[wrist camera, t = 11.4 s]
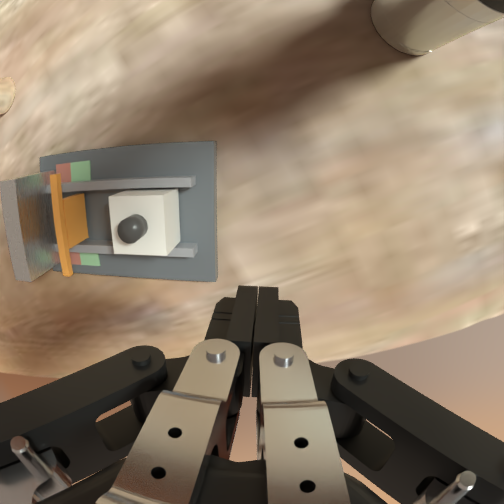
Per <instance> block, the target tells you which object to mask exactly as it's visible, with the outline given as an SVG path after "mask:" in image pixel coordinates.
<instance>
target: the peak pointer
mask: <svg viewBox="0 0 504 504" xmlns="http://www.w3.org/2000/svg"><path fill="white" fill-rule="evenodd" d="M50 186H51V197H52V207H53V216H54V224H55V231H56V238H57V244H58V250H59V256H60V262H61V267H62V272H63V276H69V277H70V276H71V275H72V274H73V270H72V265H71V259H70V253H69V249H70V248H72V247H74V246H75V245H77V244H79V243H80V242H82V241H84V240H85V239H87V238H89V236H88V228H87V219H86V209H85V198H84V193H78V194H75V195H72V196H69V197H66V198H63V199H62V187H61V173H59V174H52V175H50Z"/></svg>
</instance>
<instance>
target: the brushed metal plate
mask: <svg viewBox="0 0 504 504" xmlns="http://www.w3.org/2000/svg"><path fill="white" fill-rule="evenodd" d="M52 174H56V170H52V171H44V172H38V173H34V174H29V175H25V176H21V177H16V178H12V179H8V180H4V181H0V191H1V200H2V209H3V216H4V223H5V230H6V236H7V241H8V247H9V252H10V257H11V261H12V266H13V270H14V274H15V279H16V280H19V281H27V282H32V281H34V280H35V279H37V278H38V277H39V276H41V275H42V274H44V273H45V272H47V271H48V270H50V269H51V268H53V267H54V266H56V265H57V264H59V263H60V256H59V252H57V251H56V248H55V244H56V243H57V238H56V231H55V224H54V216H53V207H52V197H51V193H48V185H50V175H52Z"/></svg>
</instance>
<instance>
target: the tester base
mask: <svg viewBox="0 0 504 504" xmlns="http://www.w3.org/2000/svg"><path fill="white" fill-rule="evenodd" d="M52 170H56V174H59V173H61V187H62V199H63V198H66V197H69V196H72V195H75V194H78V193H84V198H85V209H86V219H87V228H88V236H89V238H87V239H85V240H84V241H82V242H80V243H79V244H77V245H75V246H74V247H72V248H70V249H69V253H70V259H71V265H72V270H73V273H85V274H98V275H111V276H124V277H139V278H154V279H170V280H187V281H206V282H216V280H217V278H218V263H217V203H216V141H199V142H174V143H156V144H142V145H130V146H119V147H110V148H101V149H92V150H84V151H77V152H70V153H63V154H57V155H50V156H44V157H40V172H44V171H52ZM150 188H178V194H179V221H180V242H179V243H178V244H177V245H176V246H175V247H174V249H173V250H172V251H171V252H170V253H169V254H168V255H167V256H157V255H134V254H114V249H113V240H112V231H111V221H110V210H109V196H112V195H114V194H117V193H120V192H123V191H125V190H128V189H150ZM48 193H51V186H50V185H48ZM55 248H56V251H57V252H59V250H58V244H57V243H56V244H55ZM53 271H62V267H61V262H60V263H59V264H57V265H56V266H54V267H53Z"/></svg>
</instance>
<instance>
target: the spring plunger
mask: <svg viewBox="0 0 504 504" xmlns="http://www.w3.org/2000/svg"><path fill="white" fill-rule="evenodd" d="M109 210H110V221H111V231H112V240H113V249H114V254H134V255H157V256H167V255H168V254H169V253H170V252H171V251H172V250H173V249H174V247H175V246H176V245H177V244H178V243H179V242H180V221H179V194H178V188H150V189H128V190H125V191H123V192H120V193H117V194H114V195H112V196H109Z"/></svg>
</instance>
